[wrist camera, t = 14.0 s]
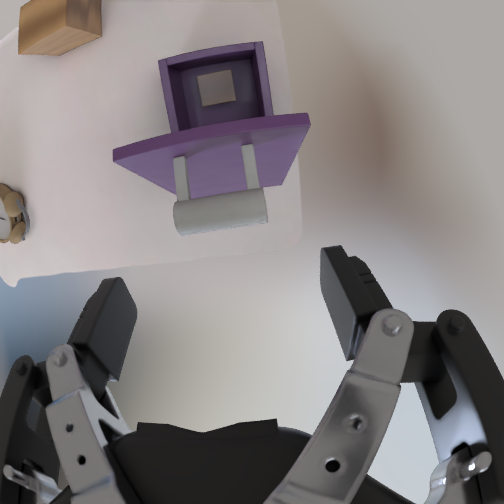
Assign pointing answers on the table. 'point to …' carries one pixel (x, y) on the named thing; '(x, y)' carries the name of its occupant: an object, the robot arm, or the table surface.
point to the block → (216, 88)
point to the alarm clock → (12, 216)
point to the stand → (57, 25)
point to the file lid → (219, 168)
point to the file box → (207, 61)
